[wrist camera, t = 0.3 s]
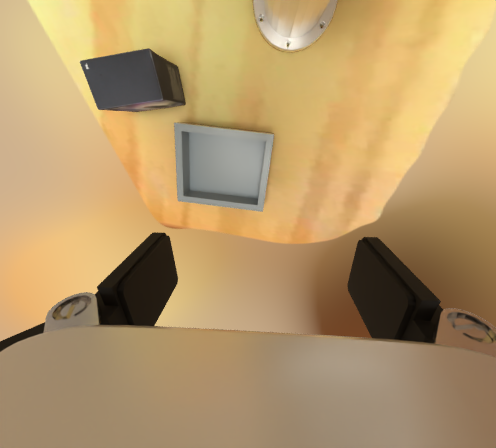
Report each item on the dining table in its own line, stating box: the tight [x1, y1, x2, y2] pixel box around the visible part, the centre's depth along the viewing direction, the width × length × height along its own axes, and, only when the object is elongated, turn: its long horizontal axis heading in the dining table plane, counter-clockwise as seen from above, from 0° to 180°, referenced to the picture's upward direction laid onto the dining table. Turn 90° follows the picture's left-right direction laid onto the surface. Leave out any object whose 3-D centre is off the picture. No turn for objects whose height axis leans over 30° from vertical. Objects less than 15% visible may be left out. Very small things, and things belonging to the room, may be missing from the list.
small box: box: [80, 49, 185, 112], centre depth 34 cm, size 11×6×10 cm, turn 97°
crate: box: [174, 123, 274, 212], centre depth 42 cm, size 14×17×5 cm
